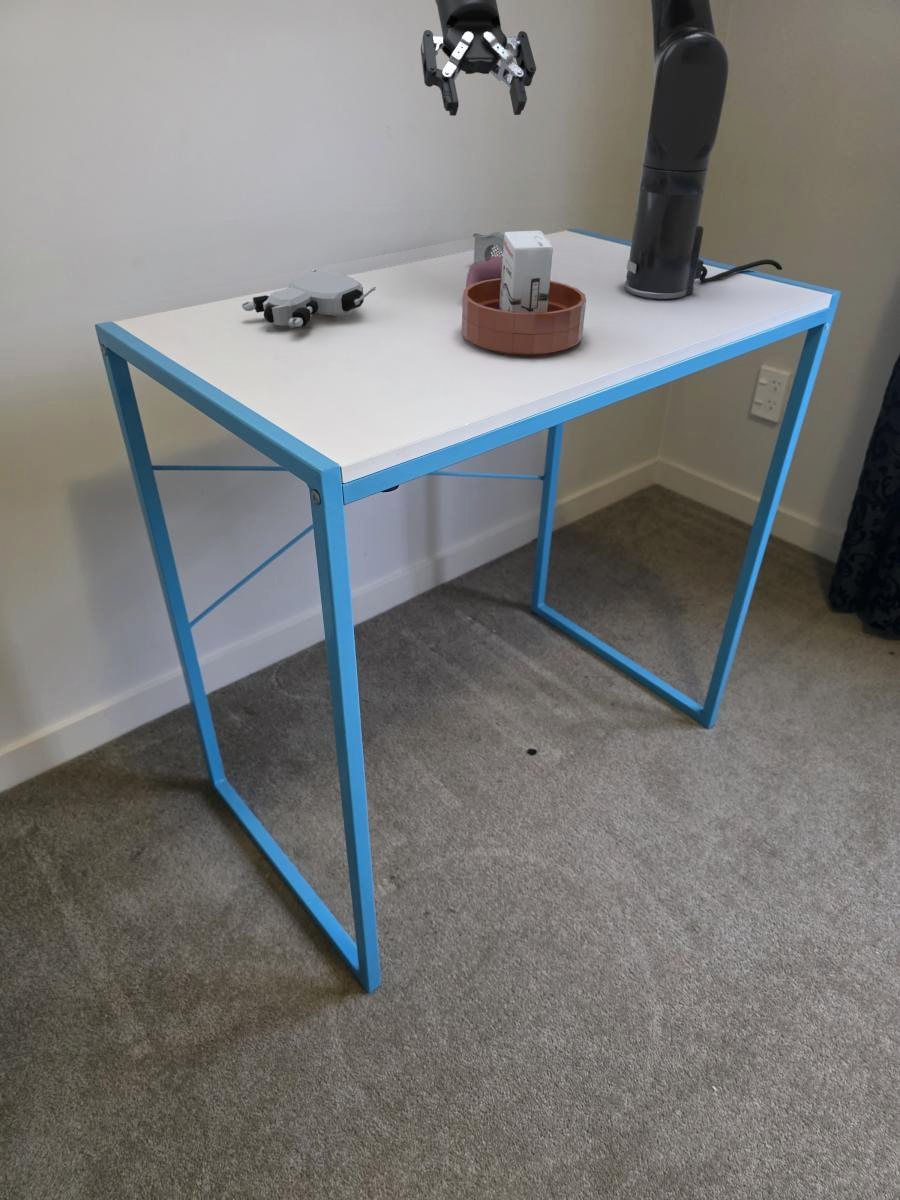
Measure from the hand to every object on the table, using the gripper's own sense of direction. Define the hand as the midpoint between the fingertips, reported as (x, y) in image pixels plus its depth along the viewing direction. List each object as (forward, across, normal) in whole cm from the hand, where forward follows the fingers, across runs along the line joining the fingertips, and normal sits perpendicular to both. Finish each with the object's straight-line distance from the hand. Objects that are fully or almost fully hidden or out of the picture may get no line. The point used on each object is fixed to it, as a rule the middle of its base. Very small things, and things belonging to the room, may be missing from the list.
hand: (487, 110), depth 109 cm
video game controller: (+16, +4, +19) cm, 25 cm away
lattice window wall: (+6, +9, +29) cm, 31 cm away
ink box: (+26, +2, +8) cm, 28 cm away
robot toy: (+18, -24, +17) cm, 35 cm away
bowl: (+27, +2, +8) cm, 28 cm away
